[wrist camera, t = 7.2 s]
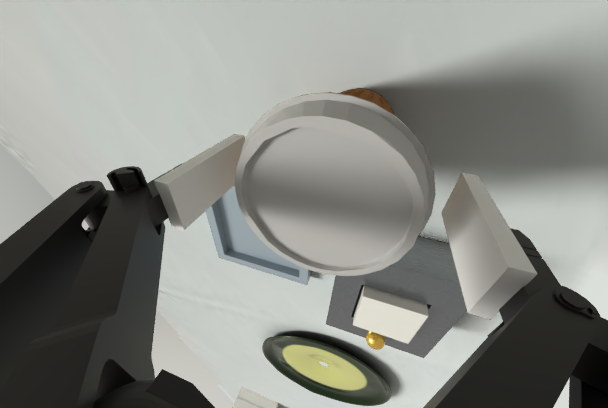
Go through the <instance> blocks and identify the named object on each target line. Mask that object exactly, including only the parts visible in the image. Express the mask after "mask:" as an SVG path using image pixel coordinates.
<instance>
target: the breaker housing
mask: <svg viewBox="0 0 608 408" xmlns="http://www.w3.org/2000/svg"><path fill="white" fill-rule="evenodd" d="M361 285H365V286H368V287H372V288H375V289H379V290H382V291H385V292H389V293H392V294H395V295H399V296H402V297H406V298H409V299H412V300H416V301H419V302H423V303H426V304H427V308H428V318H427V319H426V320H425V322H424V323H423V324H422V326H421V327H420V328H419V330H418V331H417V332H416V334H415V335H414V337H413V338H412V339H411V341H410V342H409V343H408V344H407V343H404V342H401V341H398V340H395V339H392V338H389V337H386V336H383V335H380V334H377V333H374V332H371V331H368V330H365V329H363V328H360V327H357V326H354V325H353V320H354V313H355V307H356V300H357V297H358V294H359V291H360V288H361ZM466 311H467V308H466V304H465V301H464V297H463V293H462V289H461V285H460V281H459V278H458V274H457V270H456V266H455V262H454V259H453V255H452V251H451V247H450V244H449V243H444V242H440V241H436V240H432V239H427V238H423V237H419V236H418V237H417V239H416V241H415V244H414V246H413V247H412V248H411V249H410V250H409V251H408V252H407V253H406V254H405V255H404V256H403V257H402V258H401V259H400V260H399V261H397V262H395V263H393V264H391V265H390V266H388V267H386V268H384V269H382V270H379V271H376V272H372V273H369V274H364V275H357V276H338V275H336V277H335V282H334V287H333V292H332V297H331V302H330V306H329V311H328V316H327V321H326V324H327V325H330V326H333V327H336V328H339V329H342V330H344V331H347V332H350V333H353V334H356V335H359V336H362V337H365V338H366V341H367V343H368V345H369V346H370V347H371V348H373V349H376V350H379V349H381V348H383V346H384V345H388V346H391V347H394V348H396V349H399V350H402V351H405V352H408V353H411V354H414V355H417V356H420V357H422V358H424V357H425V356H426V355H427V354H428V353H429V352H430V351H431V349H432V348H433V347H434V346H435V345H436V344H437V343H438V342H439V341H440V340H441V339H442V337H443V336H444V335H445V334H446V333H447V332H448V331H449V330H450V329H451V328H452V327H453V325H454V324H455V323H456V322H457V321H458V320H459V319H460V318H461V317H462V316H463V314H464V313H465V312H466Z"/></svg>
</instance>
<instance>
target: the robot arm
mask: <svg viewBox="0 0 608 408" xmlns="http://www.w3.org/2000/svg"><path fill="white" fill-rule="evenodd" d="M244 142H245V137H244V136H243V135H237V134H234V135H232V136H230V137H228V138H227V139H225V140H223V141H221V142H220V143H218V144H216V145H215V146H213V147H211V148H209V149H208V150H206V151H204V152H202V153H201V154H199V155H197V156H196V157H194V158H192V159H190V160H189V161H187V162H185V163H183V164H180V165H178V166H177V167H175V168H173V170H170V171H168V172H167V173H165V174H163V175H161V176H159V177H158V178H156V179H154V180H152V181H151V182H149V183H147V182H146V180H145V177H144V175H143V173H142V170H141V169H140V168H139V167H134V166H132V167H123V168H119V169H116V170H113V171H111V172H110V173H109V174H108V175H107V177H108V179H109V181H110V183H111V185H112V187H113V188H114V190H115V191H110V190H106V189H105V187H104V185H103V184H102V182H99V181H85V182H81V183H79V184H77V185H75V186H73V187H71V188H70V189H68V190H67V191H66V192H64V193H63V194H62V195H61V196H60V197H58V198H57V199H56V200H55V201H53V202H52V203H51V204H50V205H48V206H47V207H46V208H45V209H44V210H42V211H41V212H40V213H38V214H37V215H36V216H35V217H34V218H32V219H31V220H30V221H29V222H27V223H26V224H25V225H24V226H22V227H21V228H20V229H19V230H17V231H16V232H15V233H14V234H12V235H11V236H10V237H9V238H8V239H6V240H5V241H4V242H3V243H1V244H0V408H215V407H214V406H213V405H212V404H211V403H210V402H209V401H208V400H207V399H206V398H205V397H204V395H203V394H202V393H201V392H200V391H198V389H197V388H196V387H195V386H194V385H193V384H192V383H190V382H188V381H186V380H184V379H182V378H180V377H178V376H175V375H173V374H171V373H169V372H167V371H165V370H163V369H162V370H161V372H160V373H159V375H158V376H157V377H156V378H155V376H154V369H153V364H152V359H151V351H152V342H153V333H154V324H155V315H156V306H157V297H158V288H159V278H160V269H161V260H162V251H163V242H164V233H165V225H164V223H163V221H164V220H166V219H167V218H169V220H170V223H171V225H172V227H176V228H179V229H183V230H185V229H186V228H187V227H188V226H189V225H190V224H191V223H192V222H194V221H195V220H196V219H197V218H198V217H199V216H200V215H201V214H203V213H204V212H205V211H206V210H207V209H208V208H209V207H210V206H211V205H213V204H214V203H215V202H216V201H217V200H218V199H219V198H220V197H222V196H223V195H224V194H225V193H226V192H227V191H228V190H229V189H231V188H232V187H233V186H234V185H235V172H236V168H237V165H238V162H239V159H240V156H241V151H242V147H243V144H244ZM442 217H443V220H444V224H445V228H446V232H447V236H448V240H449V243H450V247H451V251H452V255H453V259H454V262H455V266H456V270H457V274H458V278H459V281H460V285H461V289H462V293H463V297H464V301H465V304H466V308H467V312H468V313H469V314H473V315H476V316H479V317H483V318H486V319H490V320H491V319H492V318H493V317H494V316H495V315H496V314H497V313H498V312H499V311H500V314H501V316H502V319H503V322H502V323H501V324H500V325H499V326H498V327H497V328H496V329H494V330H493V331H492V332H491V333H490V334H489V335H488V338H487V339H486V340H485V341H484V342H483V343H482V344H481V345H480V347H479V348H478V349H477V350H476V351H475V352H474V353H473V354H472V355H471V356H470V357H469V359H468V360H467V361H466V362H465V363H464V364H463V365H462V366H461V367H460V368H459V369H458V370H457V372H456V373H455V374H454V375H453V376H452V377H451V378H450V379H449V380H448V381H447V382H446V384H445V385H444V386H443V387H442V388H441V389H440V390H439V391H438V392H437V393H436V394H435V396H434V397H433V398H432V399H431V400H430V401H429V402H428V403H427V404H426V405H425V406H424V407H423V408H553V407H554V405H555V403H556V401H557V399H558V397H559V396H560V394H561V392H562V390H563V388H564V386H565V385H566V382H567V381H568V379H569V377H570V387H569V388H570V389H569V408H608V320H606V319H603V318H601V317H600V314H599V313H598V311H597V310H596V308H595V307H594V306H593V305H592V304H591V303H590V302H589V301H588V300H587V299H585V298H584V297H582V296H581V295H580V294H578V293H577V292H575V291H573V290H571V289H569V288H567V287H564V286H561V285H560V284H559V282H558V281H557V279H556V278H555V276H554V275H553V273H552V272H551V270H550V269H549V267H548V266H547V264H546V263H545V261H544V260H543V259H541V258H542V257H541V255H540V254H539V252H538V251H536V248H535V246H534V245H533V243H532V242H531V240H530V239H529V238H527V237H526V236H525V235H524V234H523V233H521V232H520V231H519V230H515V229H510V228H509V226H508V224H507V223H506V221H505V219H504V218H503V216H502V214H501V213H500V211H499V209H498V208H497V206H496V204H495V203H494V201H493V199H492V198H491V196H490V194H489V193H488V191H487V190H486V188H485V186H484V185H483V183H482V181H481V180H480V178H479V176H478V175H473V174H467V173H461V175H460V177H459V179H458V181H457V183H456V185H455V187H454V189H453V191H452V193H451V195H450V197H449V199H448V201H447V203H446V205H445V207H444V209H443V211H442ZM84 219H85V221H86V222H87V224H88V225H89V228H88V229H87V230H86V231H85V230H84V229H83V227H82V222H83V220H84Z"/></svg>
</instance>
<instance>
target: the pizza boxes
mask: <svg viewBox="0 0 608 408" xmlns="http://www.w3.org/2000/svg"><path fill="white" fill-rule="evenodd" d="M233 408H278V402H276V401H273V400H271V399H269V398H267V397H264V396H262V395H260V394H258V393H255V392H253V391H251V390H249V389H246V388H244V387H242V388H241V390H240V392H239V395H238V397H237V399H236V401H235V404H234V406H233Z"/></svg>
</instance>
